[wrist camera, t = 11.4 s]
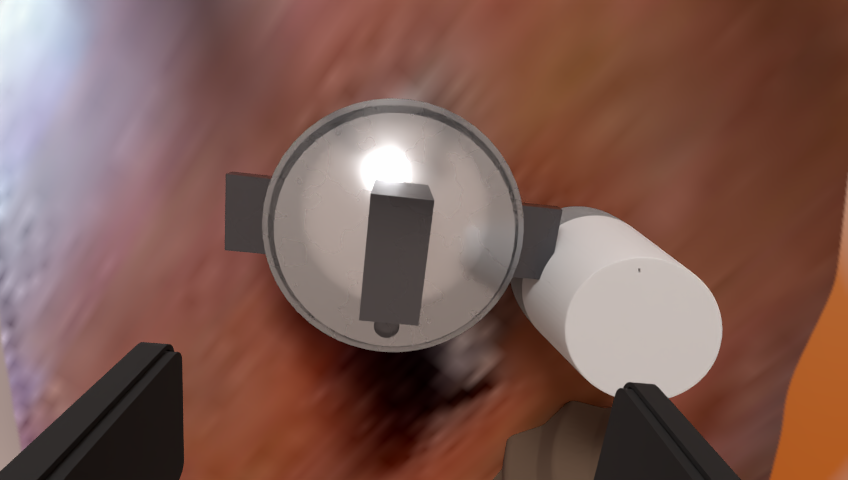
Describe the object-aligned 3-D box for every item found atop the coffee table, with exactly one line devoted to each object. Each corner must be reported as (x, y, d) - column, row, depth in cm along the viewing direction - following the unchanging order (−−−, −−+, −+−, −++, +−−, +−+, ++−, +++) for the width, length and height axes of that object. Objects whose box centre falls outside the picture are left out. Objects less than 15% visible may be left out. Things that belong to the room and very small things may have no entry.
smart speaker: (496, 208, 37) (553, 267, 23) (617, 190, 37) (745, 238, 23) (508, 323, 39) (566, 437, 26) (621, 306, 39) (738, 410, 26)
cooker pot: (539, 117, 35) (586, 120, 26) (507, 306, 39) (539, 364, 30) (266, 84, 34) (220, 76, 25) (259, 284, 37) (217, 338, 29)
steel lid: (283, 97, 25) (253, 95, 20) (529, 128, 26) (562, 133, 21) (273, 328, 29) (245, 378, 23) (491, 347, 30) (512, 399, 24)
